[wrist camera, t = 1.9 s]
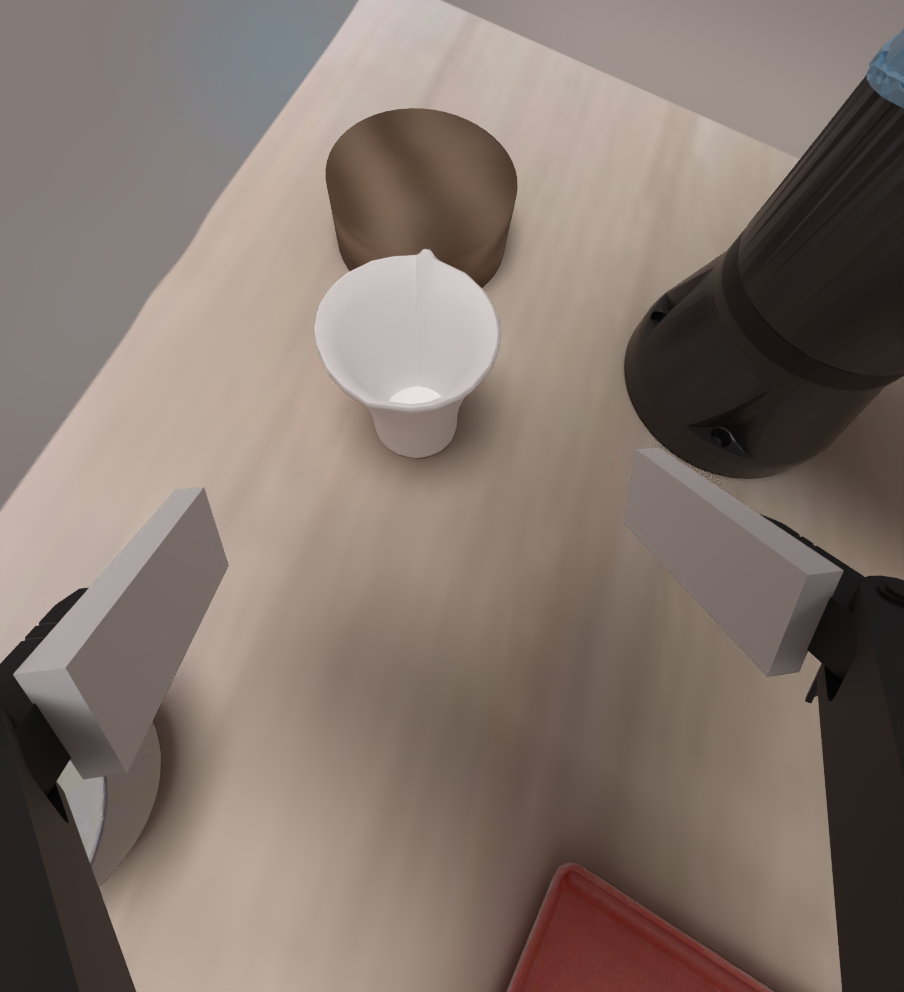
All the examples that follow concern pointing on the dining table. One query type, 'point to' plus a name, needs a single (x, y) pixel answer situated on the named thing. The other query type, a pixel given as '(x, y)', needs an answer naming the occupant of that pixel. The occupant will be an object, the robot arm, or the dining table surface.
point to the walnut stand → (421, 191)
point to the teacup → (114, 806)
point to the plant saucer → (614, 946)
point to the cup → (408, 346)
